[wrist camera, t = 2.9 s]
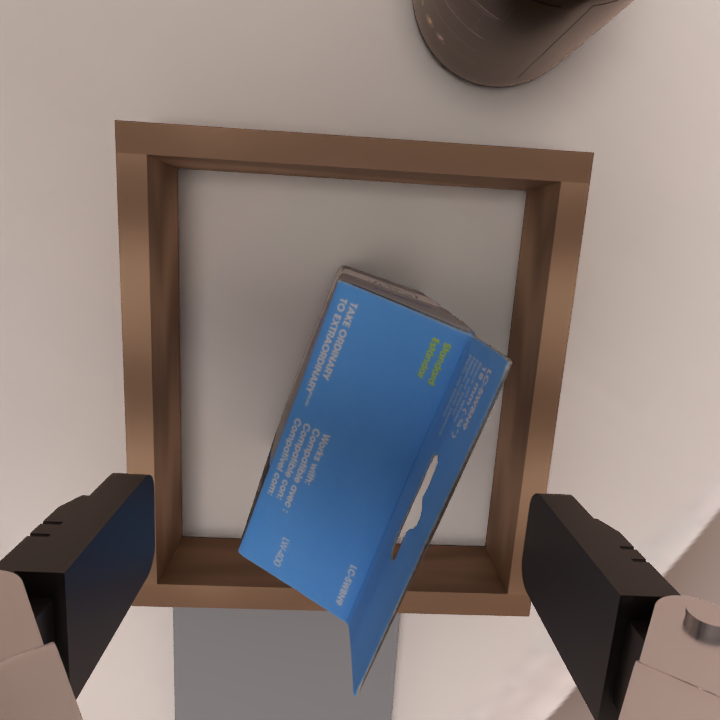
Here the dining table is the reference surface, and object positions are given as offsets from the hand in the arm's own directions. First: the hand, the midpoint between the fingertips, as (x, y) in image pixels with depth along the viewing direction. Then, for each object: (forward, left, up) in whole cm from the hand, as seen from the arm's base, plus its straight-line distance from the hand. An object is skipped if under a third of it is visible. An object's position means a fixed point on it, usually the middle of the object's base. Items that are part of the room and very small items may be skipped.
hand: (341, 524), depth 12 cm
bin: (0, 0, -12) cm, 12 cm away
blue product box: (0, 0, -13) cm, 13 cm away
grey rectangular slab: (+16, -2, -12) cm, 20 cm away
